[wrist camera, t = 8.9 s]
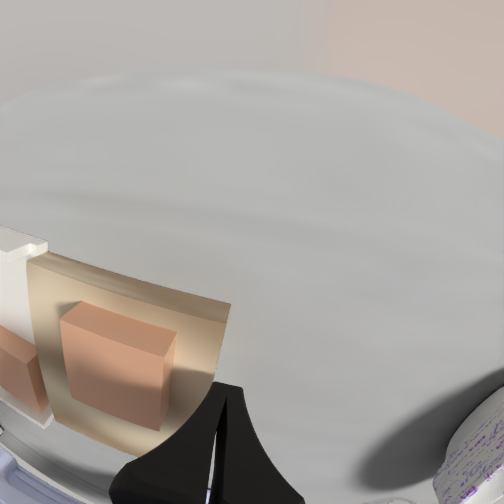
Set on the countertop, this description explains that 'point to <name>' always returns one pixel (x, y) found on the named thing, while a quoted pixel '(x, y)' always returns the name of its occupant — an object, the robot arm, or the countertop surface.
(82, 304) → the terracotta tile
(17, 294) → the bin
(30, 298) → the oak board
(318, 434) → the countertop surface
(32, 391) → the terracotta tile
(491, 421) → the white purple patterned bowl
